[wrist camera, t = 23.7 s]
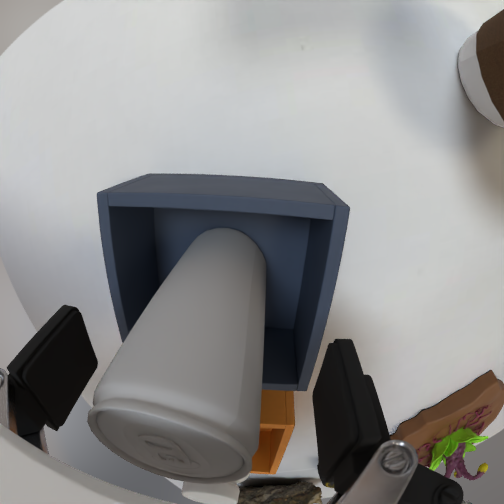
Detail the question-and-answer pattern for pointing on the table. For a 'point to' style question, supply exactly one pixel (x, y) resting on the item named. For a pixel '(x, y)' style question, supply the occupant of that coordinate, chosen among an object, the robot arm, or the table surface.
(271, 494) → the mineral specimen
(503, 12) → the coffee cup
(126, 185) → the slate bin
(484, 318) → the table surface
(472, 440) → the plant
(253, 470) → the amber bin
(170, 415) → the beverage can
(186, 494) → the pill bottle
